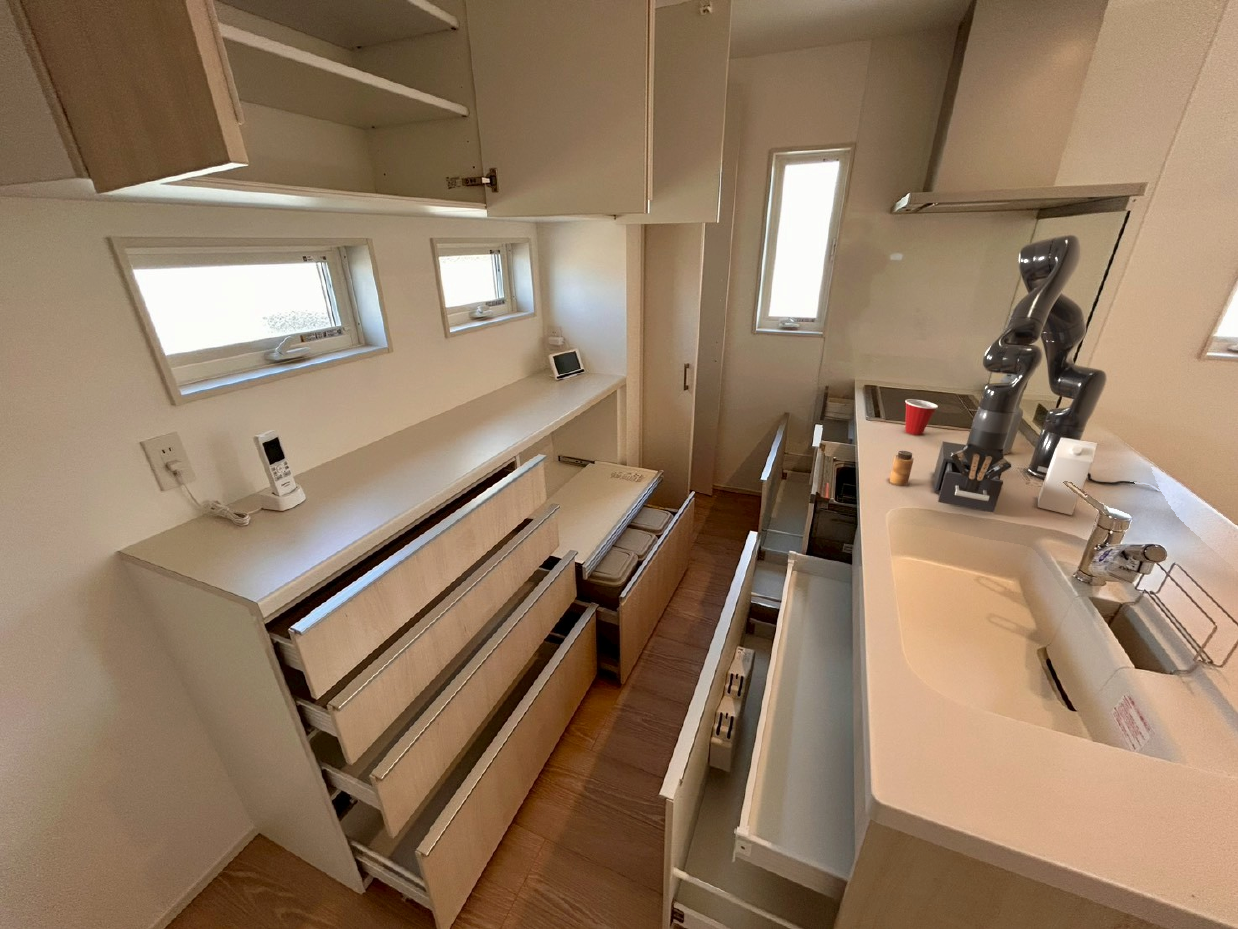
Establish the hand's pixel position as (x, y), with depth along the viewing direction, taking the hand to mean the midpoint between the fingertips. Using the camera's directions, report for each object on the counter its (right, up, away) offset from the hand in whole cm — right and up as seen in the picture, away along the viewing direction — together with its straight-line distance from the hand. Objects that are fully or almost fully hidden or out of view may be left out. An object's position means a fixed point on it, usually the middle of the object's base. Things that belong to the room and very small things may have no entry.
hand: (970, 491), depth 127 cm
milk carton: (+27, -5, +7) cm, 28 cm away
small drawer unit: (+10, 0, +18) cm, 20 cm away
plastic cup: (+23, +19, +62) cm, 69 cm away
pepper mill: (-6, +2, +21) cm, 22 cm away
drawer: (+4, -3, +8) cm, 10 cm away
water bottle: (+40, +12, +45) cm, 62 cm away
